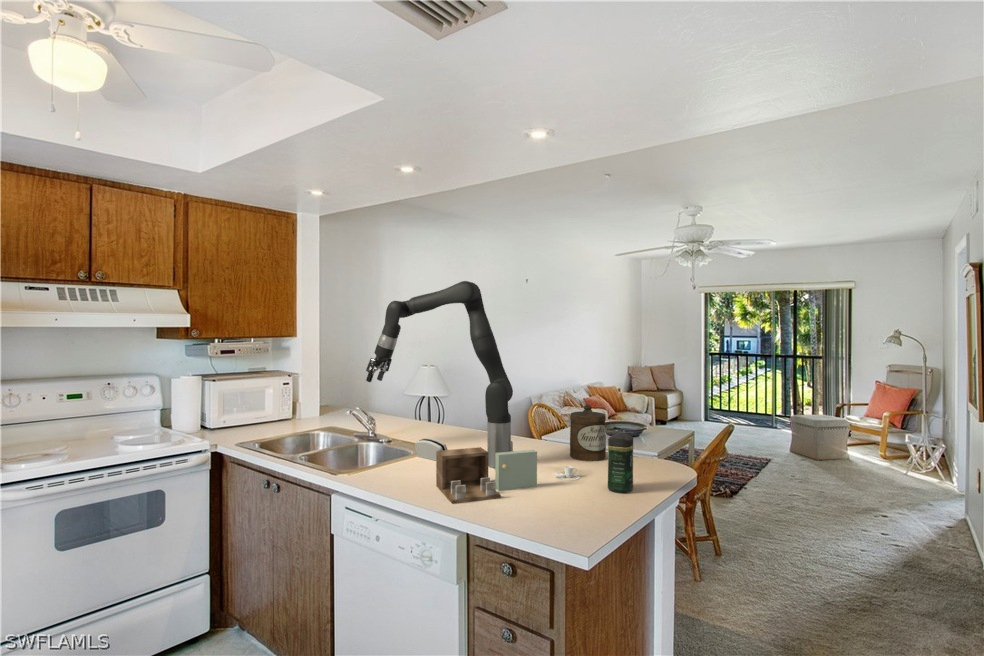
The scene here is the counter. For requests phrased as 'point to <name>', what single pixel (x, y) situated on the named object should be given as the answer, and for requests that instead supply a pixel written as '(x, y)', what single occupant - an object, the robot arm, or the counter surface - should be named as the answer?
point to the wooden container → (587, 435)
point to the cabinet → (464, 475)
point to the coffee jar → (620, 462)
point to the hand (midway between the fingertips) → (373, 380)
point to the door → (516, 470)
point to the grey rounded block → (429, 448)
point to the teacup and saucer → (567, 473)
